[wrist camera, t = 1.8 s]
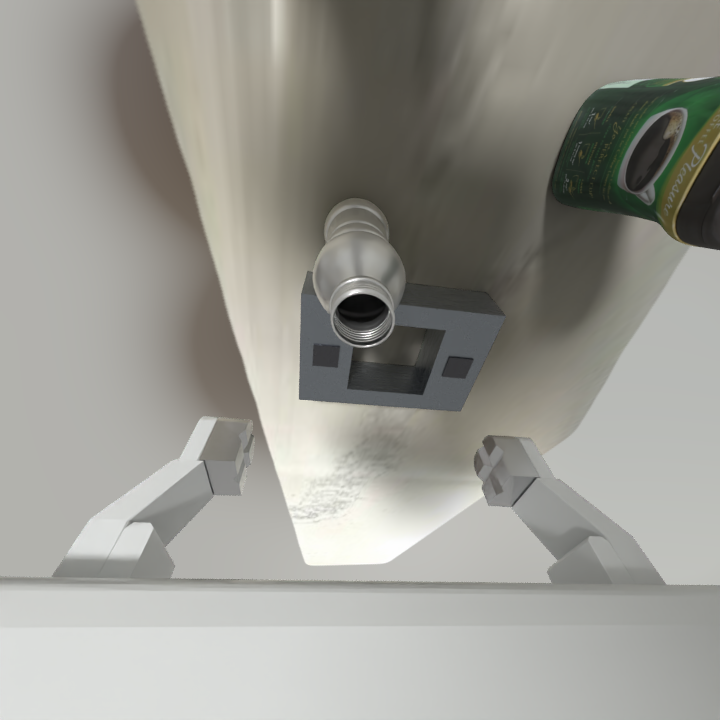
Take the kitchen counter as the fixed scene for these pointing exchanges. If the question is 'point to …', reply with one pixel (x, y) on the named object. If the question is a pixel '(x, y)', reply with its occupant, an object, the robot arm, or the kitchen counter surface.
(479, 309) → the grey slotted block
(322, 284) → the silver bottle
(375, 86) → the kitchen counter surface
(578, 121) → the coffee jar
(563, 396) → the kitchen counter surface
